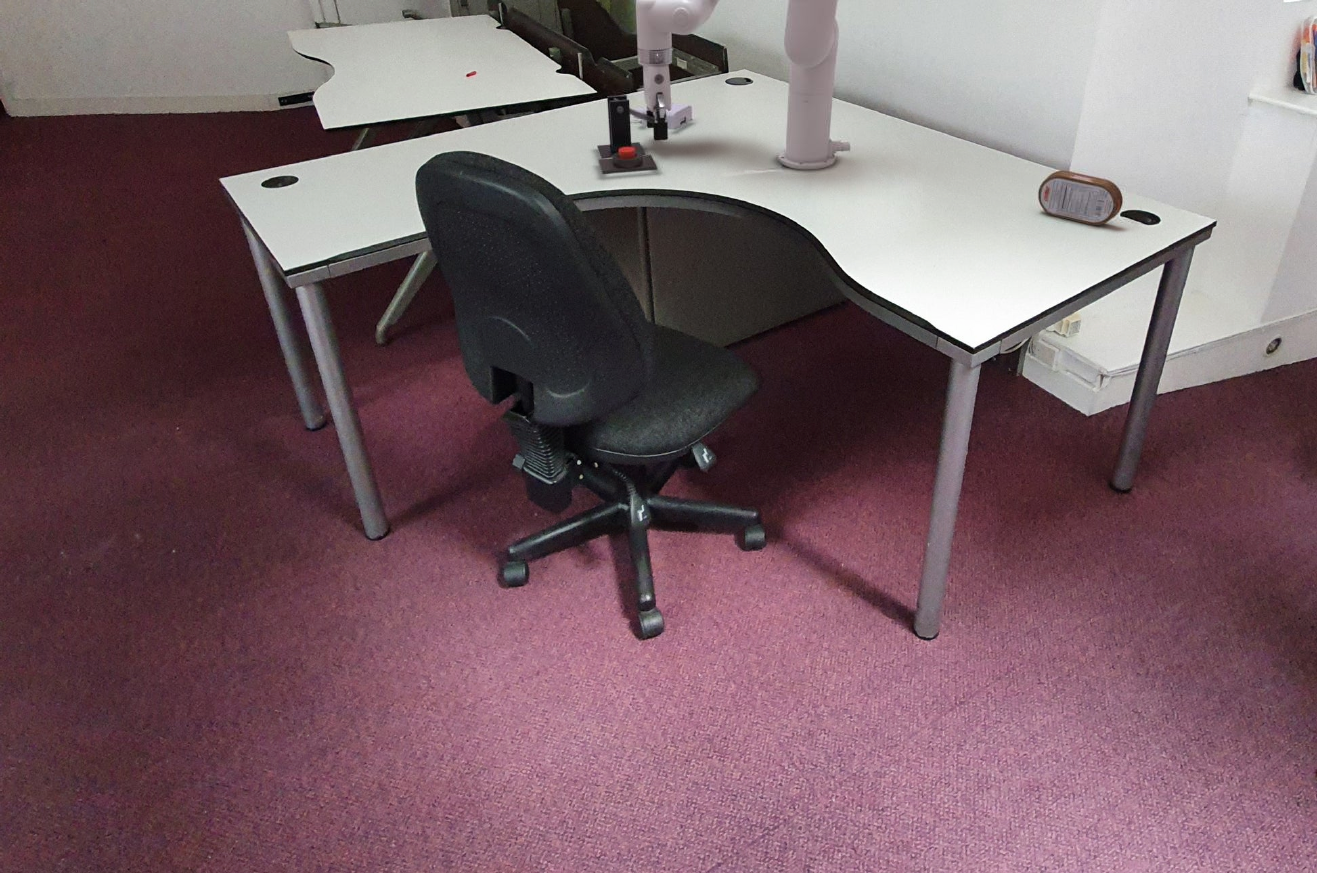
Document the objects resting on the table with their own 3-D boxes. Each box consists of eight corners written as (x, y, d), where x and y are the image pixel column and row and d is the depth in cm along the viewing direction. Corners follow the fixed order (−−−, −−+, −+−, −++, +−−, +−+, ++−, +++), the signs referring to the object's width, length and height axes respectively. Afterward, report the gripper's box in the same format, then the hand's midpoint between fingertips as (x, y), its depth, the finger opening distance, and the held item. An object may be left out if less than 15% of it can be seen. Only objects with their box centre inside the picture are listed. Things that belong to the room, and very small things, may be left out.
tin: (1117, 226, 175) (1128, 182, 170) (1110, 231, 173) (1122, 186, 168) (1038, 208, 184) (1047, 165, 179) (1032, 212, 182) (1040, 170, 177)
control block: (651, 162, 213) (650, 146, 211) (657, 173, 206) (656, 158, 204) (598, 166, 211) (597, 151, 209) (603, 178, 205) (602, 162, 203)
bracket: (639, 147, 222) (637, 91, 215) (645, 159, 215) (643, 101, 207) (597, 150, 221) (593, 94, 214) (602, 162, 214) (598, 105, 206)
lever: (657, 125, 218) (661, 115, 217) (661, 132, 214) (665, 122, 213) (609, 105, 214) (613, 95, 213) (612, 112, 209) (616, 102, 208)
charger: (641, 116, 243) (692, 123, 236) (622, 126, 236) (674, 133, 230) (640, 97, 240) (691, 104, 234) (621, 106, 234) (673, 113, 227)
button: (634, 154, 208) (633, 146, 207) (636, 159, 205) (636, 151, 204) (618, 155, 208) (617, 147, 207) (620, 160, 205) (619, 152, 204)
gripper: (678, 63, 200) (680, 143, 210) (664, 45, 214) (666, 121, 224) (644, 66, 199) (647, 146, 209) (632, 48, 213) (635, 124, 223)
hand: (657, 133), depth 216 cm, fingers open, 9 cm apart
